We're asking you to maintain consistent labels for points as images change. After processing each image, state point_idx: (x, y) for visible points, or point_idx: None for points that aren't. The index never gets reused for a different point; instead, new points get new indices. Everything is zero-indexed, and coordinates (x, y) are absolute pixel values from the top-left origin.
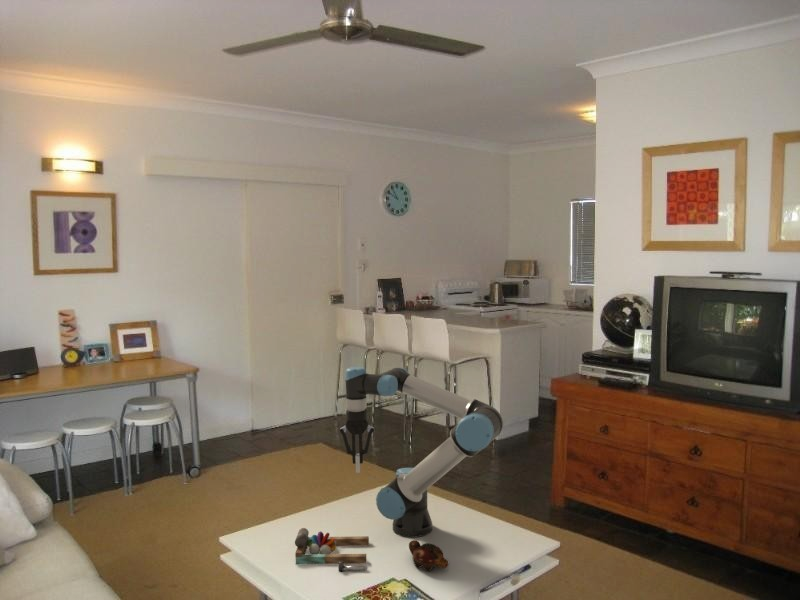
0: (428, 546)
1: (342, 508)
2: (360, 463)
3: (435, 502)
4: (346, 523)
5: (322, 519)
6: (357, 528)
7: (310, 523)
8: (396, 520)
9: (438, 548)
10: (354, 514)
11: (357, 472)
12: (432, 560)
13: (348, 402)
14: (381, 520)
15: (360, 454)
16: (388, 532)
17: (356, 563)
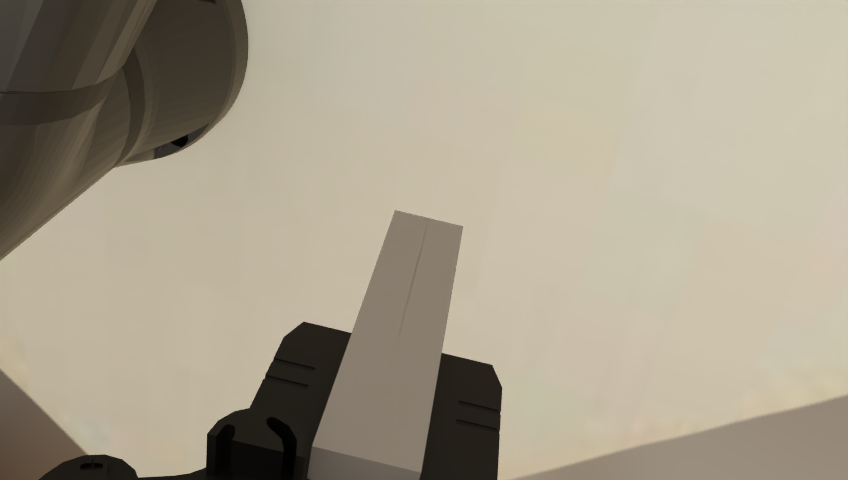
0: None
1: (506, 407)
2: (341, 331)
3: (4, 328)
4: (527, 222)
5: (657, 315)
6: (474, 132)
7: (748, 286)
8: (188, 11)
9: None
10: (454, 321)
11: (434, 224)
12: None
13: None
14: (308, 201)
15: (268, 449)
16: (280, 11)
17: None
